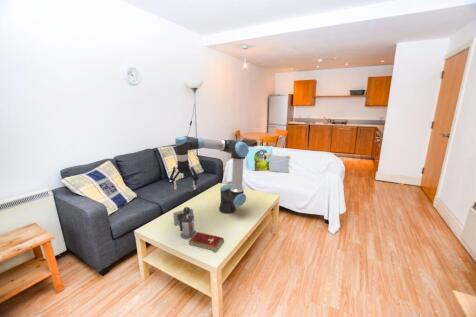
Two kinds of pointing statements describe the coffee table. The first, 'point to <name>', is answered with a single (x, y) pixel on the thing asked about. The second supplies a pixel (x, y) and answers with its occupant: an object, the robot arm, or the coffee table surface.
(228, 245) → the coffee table surface
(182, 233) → the trivet
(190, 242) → the hardcover book
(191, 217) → the grey blocky piece
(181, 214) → the digital clock
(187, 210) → the ball knob lever
